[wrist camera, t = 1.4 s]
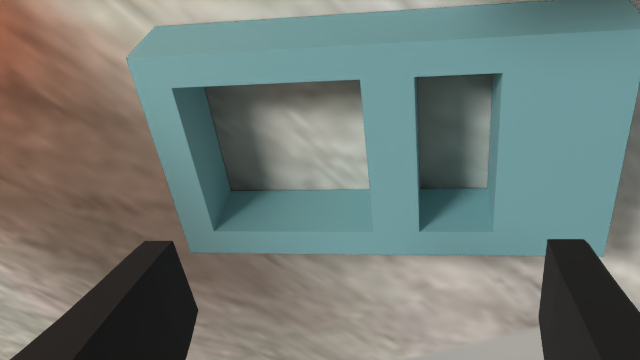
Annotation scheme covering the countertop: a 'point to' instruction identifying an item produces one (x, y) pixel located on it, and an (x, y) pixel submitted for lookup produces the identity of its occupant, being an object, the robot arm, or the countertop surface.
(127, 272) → the robot arm
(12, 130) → the countertop surface
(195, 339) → the countertop surface
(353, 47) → the holder
